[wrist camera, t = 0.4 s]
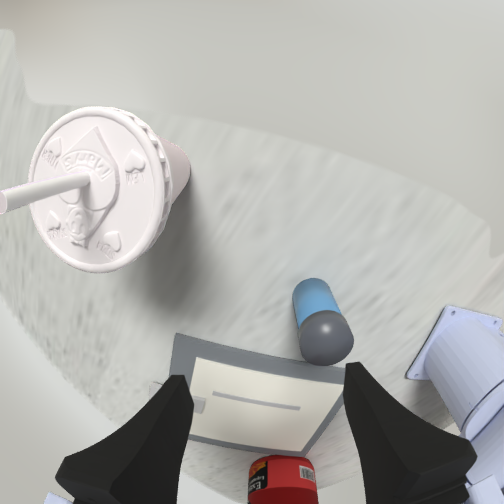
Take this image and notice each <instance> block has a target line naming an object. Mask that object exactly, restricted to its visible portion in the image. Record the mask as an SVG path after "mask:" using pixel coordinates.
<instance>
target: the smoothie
mask: <svg viewBox="0 0 504 504" xmlns="http://www.w3.org/2000/svg"><path fill="white" fill-rule="evenodd" d="M189 177H190V162H189V159H188V157H187V155H186V153H185V152H184V151H183V150H182V149H181V148H180V147H179V146H177V145H175V144H173V143H171V142H169V141H167V140H166V139H164V138H162V137H160V136H158V135H156V134H155V133H154V132H153V131H152V129H151V128H150V127H149V126H148V124H146V123H145V122H144V121H142V120H141V119H139V118H138V117H136V116H135V115H134V114H132V113H130V112H127V111H124V110H121V109H117V108H114V107H99V106H92V107H84V108H80V109H77V110H74V111H72V112H70V113H68V114H66V115H64V116H63V117H61V118H60V119H59V120H57V121H56V122H55V123H54V124H53V125H52V126H51V127H50V128H49V129H48V130H47V131H46V133H45V134H44V136H43V137H42V139H41V140H40V142H39V144H38V146H37V148H36V150H35V152H34V155H33V158H32V161H31V165H30V169H29V176H28V184H24V185H20V186H16V187H13V188H9V189H6V190H2V191H0V214H4V213H6V212H9V211H11V210H14V209H17V208H20V207H22V206H25V205H28V204H29V207H30V211H31V215H32V218H33V221H34V224H35V226H36V228H37V230H38V232H39V234H40V236H41V238H42V239H43V241H44V242H45V244H46V245H47V246H48V247H49V249H50V250H51V251H52V252H53V253H54V254H55V255H56V256H57V257H58V258H60V259H61V260H62V261H64V262H65V263H67V264H68V265H70V266H72V267H74V268H76V269H79V270H82V271H85V272H90V273H108V272H113V271H116V270H119V269H121V268H124V267H125V266H127V265H129V264H131V263H132V262H133V261H135V260H136V259H138V258H139V257H140V256H142V255H143V254H144V253H145V252H146V251H148V250H149V249H150V248H151V247H152V246H153V245H154V243H155V242H156V240H157V239H158V237H159V236H160V234H161V233H162V231H163V230H164V227H165V224H166V221H167V218H168V216H169V213H170V210H171V205H172V204H173V202H174V201H175V200H176V198H177V197H178V195H179V194H180V193H181V191H182V190H183V188H184V187H185V186H186V184H187V182H188V180H189Z"/></svg>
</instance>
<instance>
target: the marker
mask: <svg viewBox="0 0 504 504" xmlns="http://www.w3.org/2000/svg"><path fill="white" fill-rule="evenodd" d="M293 303H294V308H295V313H296V319H297V324H298V329H299V331H298V338H299V343H300V349H301V353H302V356H303V358H304V359H305V360H306V361H307V362H309V363H310V364H313V365H316V366H329V365H333V364H336V363H338V362H340V361H341V360H343V359H344V358H345V357H346V356H347V355H348V354H349V353H350V351H351V350H352V348H353V344H354V338H353V334H352V332H351V330H350V328H349V325H348V323H347V321H346V319H345V318H344V317H343V316H342V314H341V312H340V310H339V307H338V305H337V303H336V301H335V299H334V296H333V294H332V292H331V290H330V288H329V286H328V285H327V283H326V282H324V281H323V280H321V279H317V278H310V279H306V280H304V281H302V282H300V283H299V284H298V285H297V286H296V288H295V289H294V291H293Z"/></svg>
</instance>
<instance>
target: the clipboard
mask: <svg viewBox="0 0 504 504" xmlns="http://www.w3.org/2000/svg"><path fill="white" fill-rule="evenodd" d="M171 375H185V378H186V381H187V384H188V387H189V390H190V393H191V396H192V399H193V402H194V412H193V420H192V425H191V429H190V433H189V436H188V439H190V440H194V441H198V442H202V443H207V444H212V445H217V446H222V447H227V448H233V449H239V450H245V451H251V452H259V453H266V454H275V455H285V456H297V457H304V456H305V455H306V454H307V452H308V451H309V450H310V449H311V447H312V446H313V445H314V443H315V442H316V441H317V440H318V438H319V437H320V436H321V434H322V433H323V432H324V430H325V429H326V427H327V426H328V425H329V423H330V422H331V420H332V419H333V418H334V416H335V415H336V413H337V412H338V410H339V409H340V408H341V406H342V405H343V403H344V400H343V387H344V378H345V368H338V367H332V366H316V365H313V364H310V363H307V362H301V361H295V360H290V359H285V358H280V357H274V356H269V355H265V354H260V353H255V352H251V351H246V350H242V349H237V348H233V347H229V346H224V345H220V344H216V343H212V342H208V341H204V340H201V339H197V338H193V337H189V336H186V335H182V334H179V333H176V335H175V338H174V344H173V351H172V358H171V365H170V372H169V377H170V376H171ZM161 387H162V385H161V384H157V383H154V382H151V385H150V392H149V400H150V399H151V398H152V397H153V396H154V395H155V394H156V392H157V391H158V390H159V389H160V388H161Z"/></svg>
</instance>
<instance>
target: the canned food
mask: <svg viewBox="0 0 504 504" xmlns="http://www.w3.org/2000/svg"><path fill="white" fill-rule="evenodd" d="M248 504H318V496H317V487H316V480H315V472H314V468H313V466H312V464H311V462H310V461H309V460H308V459H306V458H304V457H297V456H285V455H272V456H267V457H264V458H261V459H259V460H257V461H255V462H254V463H253V464H252V466H251V468H250V470H249V483H248Z"/></svg>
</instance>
